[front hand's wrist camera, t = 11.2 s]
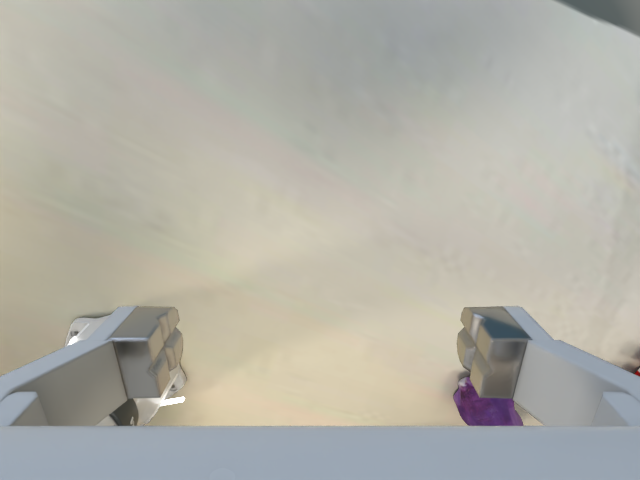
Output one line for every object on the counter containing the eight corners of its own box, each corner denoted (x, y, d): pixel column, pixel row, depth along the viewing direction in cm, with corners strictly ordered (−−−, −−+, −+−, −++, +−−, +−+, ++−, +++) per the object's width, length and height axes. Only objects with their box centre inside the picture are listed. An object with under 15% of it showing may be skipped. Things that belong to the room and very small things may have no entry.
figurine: (512, 412, 59) (571, 508, 45) (450, 416, 60) (490, 512, 46) (519, 366, 56) (585, 456, 42) (453, 371, 56) (497, 461, 42)
